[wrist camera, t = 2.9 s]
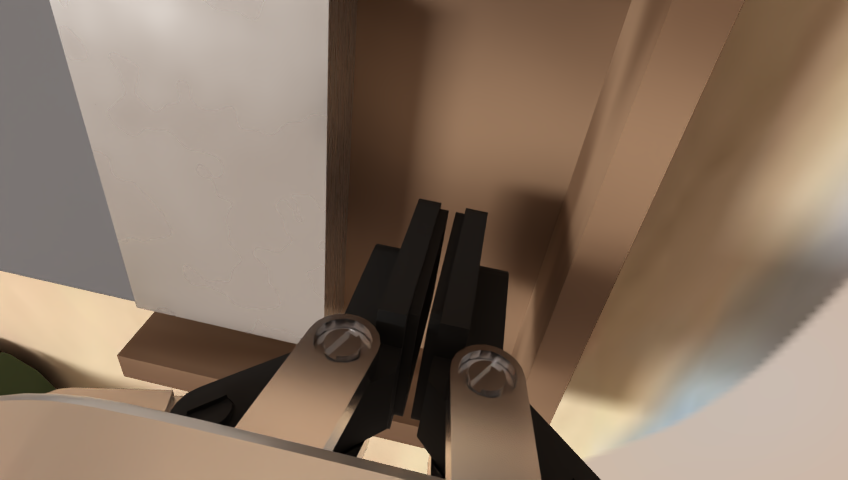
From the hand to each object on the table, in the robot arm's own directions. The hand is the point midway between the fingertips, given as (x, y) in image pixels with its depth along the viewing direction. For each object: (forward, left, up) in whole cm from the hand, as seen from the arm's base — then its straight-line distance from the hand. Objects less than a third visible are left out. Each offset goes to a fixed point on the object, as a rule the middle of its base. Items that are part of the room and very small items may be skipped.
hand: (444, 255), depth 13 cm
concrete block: (0, -6, -2) cm, 6 cm away
